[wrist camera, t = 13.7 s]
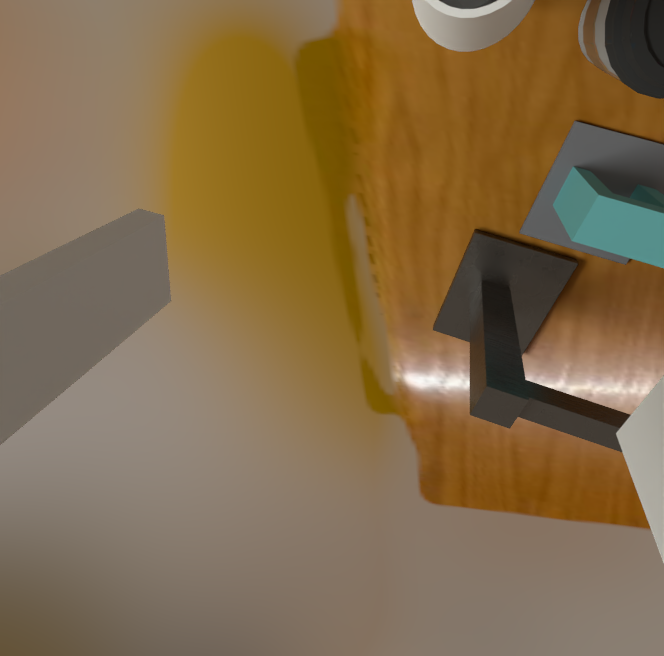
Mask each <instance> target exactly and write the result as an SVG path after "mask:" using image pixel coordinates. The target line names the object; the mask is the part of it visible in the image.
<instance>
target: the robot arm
mask: <svg viewBox="0 0 664 656" xmlns="http://www.w3.org/2000/svg"><path fill="white" fill-rule="evenodd" d="M170 301H171V295H170V283H169V270H168V258H167V247H166V234H165V221H164V215H161V214H157V213H153V212H150V211H146V210H142V209H137V210H135V211H133V212H131V213H129V214H126V215H124V216H122V217H120V218H118V219H116V220H114V221H112V222H110V223H108V224H106V225H104V226H102V227H100V228H98V229H96V230H93V231H91V232H89V233H87V234H85V235H83V236H81V237H79V238H77V239H75V240H73V241H71V242H69V243H67V244H65V245H62V246H60V247H58V248H56V249H54V250H52V251H50V252H48V253H47V254H44V255H42V256H40V257H38V258H36V259H34V260H32V261H29V262H27V263H25V264H23V265H21V266H19V267H17V268H15V269H13V270H11V271H9V272H7V273H5V274H3V275H1V276H0V445H1V444H2V443H3V442H4V441H6V440H7V439H8V438H9V437H10V436H12V435H13V434H14V433H15V432H16V431H17V430H19V429H20V428H21V427H22V426H23V425H24V424H26V423H27V422H28V421H29V420H31V419H32V418H33V417H34V416H35V415H36V414H38V413H39V412H40V411H41V410H42V409H43V408H45V407H46V406H47V405H48V404H49V403H51V402H52V401H53V400H54V399H55V398H57V396H59V395H60V394H61V393H63V392H64V391H65V390H66V389H67V388H68V387H70V386H71V385H72V384H73V383H74V382H76V381H77V380H78V379H79V378H80V377H82V376H83V375H84V374H85V373H86V372H87V371H89V370H90V369H91V368H92V367H93V366H95V365H96V364H97V363H98V362H99V361H101V360H102V358H104V357H105V356H106V355H108V354H109V353H110V352H111V351H112V350H114V349H115V348H116V347H117V346H118V345H119V344H121V343H122V342H123V341H124V340H125V339H127V338H128V337H129V336H130V335H131V334H133V333H134V332H135V331H136V330H137V329H138V328H140V327H141V326H142V325H143V324H144V323H145V322H147V321H148V320H149V319H150V318H152V317H153V316H154V315H155V314H156V313H157V312H159V311H160V310H161V309H162V308H163V307H165V306H166V305H167V304H168V303H169V302H170ZM616 435H617V438H618V441H619V444H620V446H621V449H622V452H623V454H624V457H625V460H626V463H627V465H628V468H629V471H630V473H631V476H632V479H633V482H634V484H635V487H636V490H637V492H638V495H639V498H640V501H641V503H642V506H643V509H644V511H645V514H646V517H647V519H648V522H649V525H650V528H651V530H652V533H653V536H654V538H655V541H656V544H657V546H658V549H659V552H660V555H661V557H662V560H663V563H664V376H663V377H662V378H661V379H660V381H659V382H658V383H657V384H656V385H655V387H654V388H653V389H652V390H651V391H650V393H649V394H648V395H647V396H646V398H645V399H644V400H643V401H642V402H641V404H640V405H639V406H638V407H637V408H636V410H635V411H634V412H633V413H632V415H631V416H630V417H629V418H628V419H627V421H626V422H625V423H624V424H623V425H622V427H621V428H620V429H619V430H618V432H617V433H616Z"/></svg>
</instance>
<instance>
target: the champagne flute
mask: <svg viewBox="0 0 664 656" xmlns="http://www.w3.org/2000/svg"><path fill="white" fill-rule="evenodd" d="M534 1H535V0H412V2H413V6H414V10H415V14H416V16H417V18H418V20H419V23H420V25H421V27H422V28H423V29H424V31H425V32H426V33H427V35H428V36H429V37H430V38H431V39H433V40H434V41H435V42H436V43H437V44H439V45H441V46H443V47H445V48H447V49H450V50H455V51H459V52H463V51H475V50H480V49H484V48H486V47H488V46H491V45H493V44H495V43H497V42H498V41H500V40H501V39H503V38H504V37H506V36H507V35H508V34H509V33H510V32H511V31H512V30H513V29H515V28H516V27H517V26H518V25H519V24H520V22H521V21H522V20H523V18H524V17H525V16H526V14H527V13H528V12H529V10H530V8H531V6H532V5H533V3H534Z"/></svg>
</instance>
